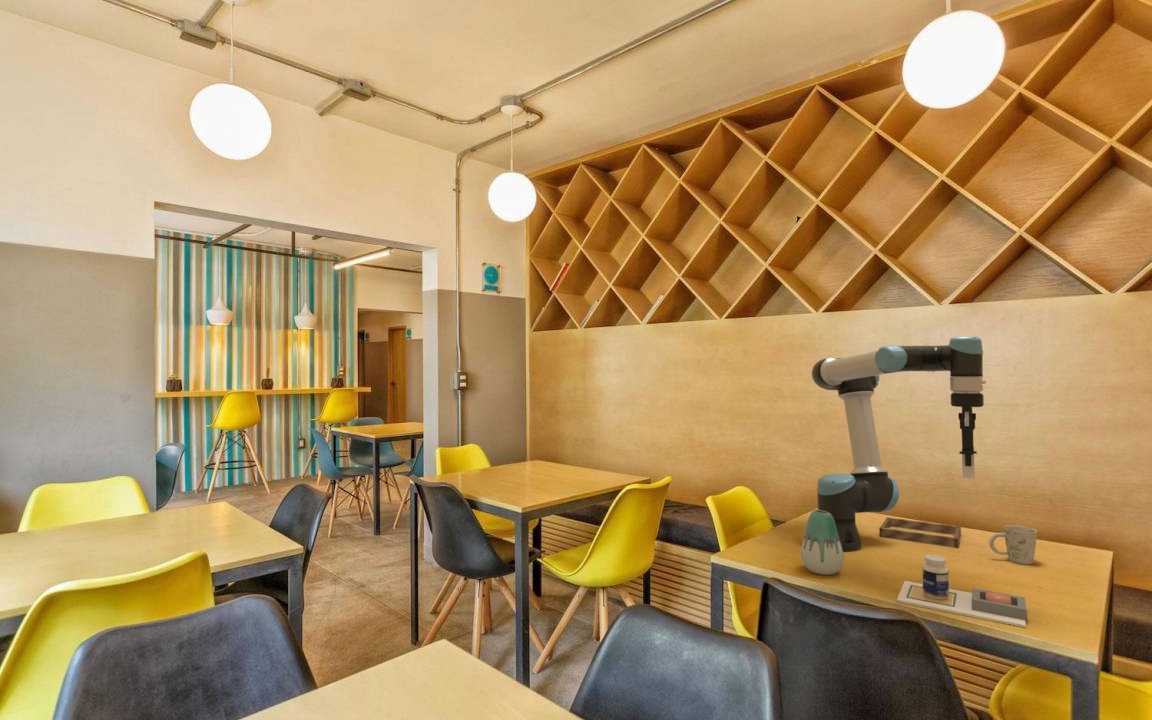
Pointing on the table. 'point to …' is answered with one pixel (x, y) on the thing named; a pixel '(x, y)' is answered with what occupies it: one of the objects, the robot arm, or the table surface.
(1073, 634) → the table surface
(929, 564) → the pill bottle
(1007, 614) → the white base plate
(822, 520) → the vase
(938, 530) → the book tray
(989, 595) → the button
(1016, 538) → the mug
